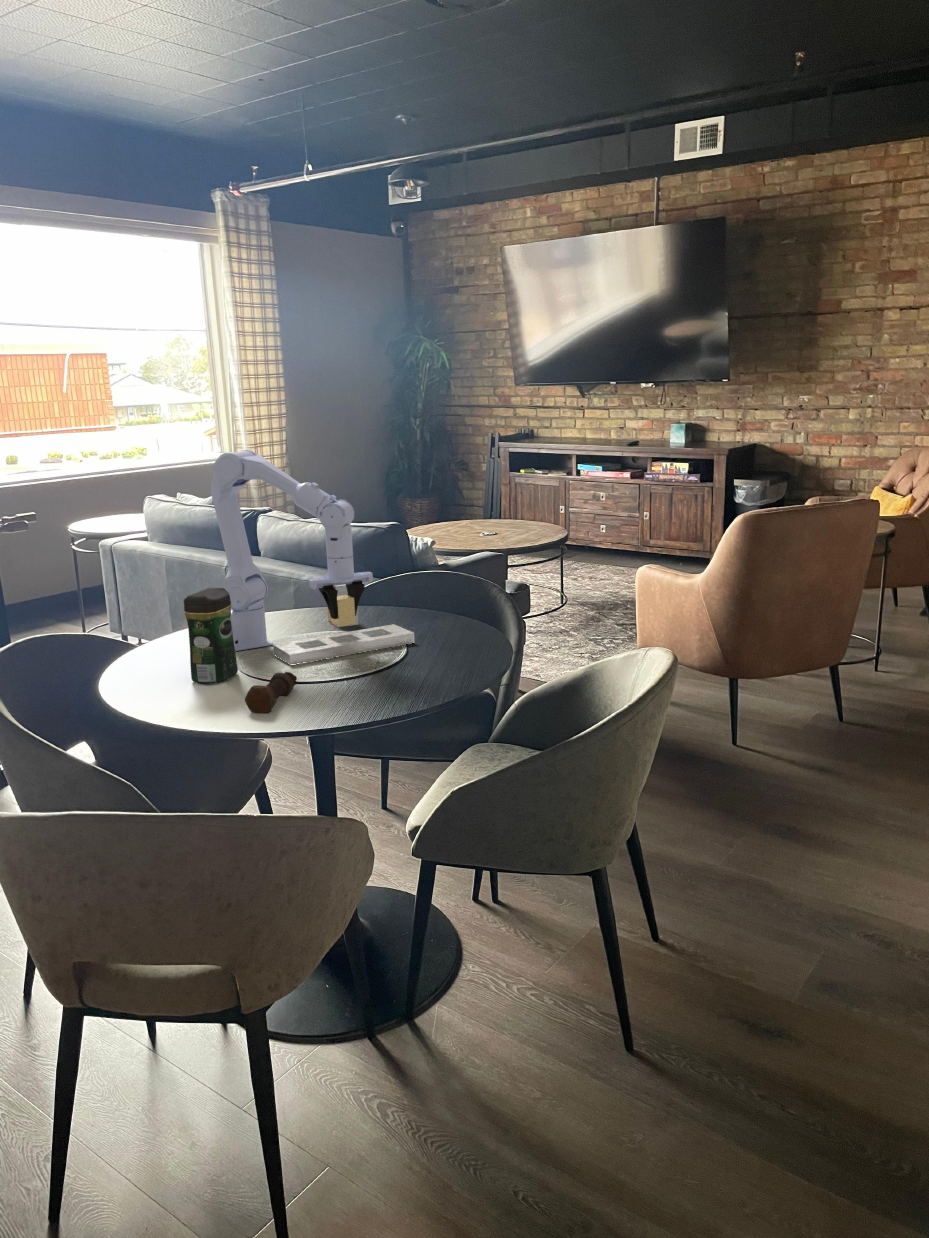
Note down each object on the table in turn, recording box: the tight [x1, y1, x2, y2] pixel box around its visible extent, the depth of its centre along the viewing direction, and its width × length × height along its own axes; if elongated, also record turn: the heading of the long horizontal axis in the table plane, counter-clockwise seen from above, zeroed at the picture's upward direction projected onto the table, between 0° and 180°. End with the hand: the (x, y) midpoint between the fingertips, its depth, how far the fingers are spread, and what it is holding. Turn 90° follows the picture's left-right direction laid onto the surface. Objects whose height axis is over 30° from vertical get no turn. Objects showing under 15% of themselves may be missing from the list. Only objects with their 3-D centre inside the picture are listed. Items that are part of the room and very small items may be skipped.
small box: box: [326, 584, 359, 628], centre depth 229 cm, size 8×6×10 cm
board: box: [272, 623, 415, 664], centre depth 205 cm, size 30×10×2 cm, turn 122°
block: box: [331, 595, 356, 628], centre depth 204 cm, size 4×4×6 cm
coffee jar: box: [183, 587, 239, 686], centre depth 184 cm, size 10×8×19 cm
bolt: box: [244, 671, 298, 715], centre depth 172 cm, size 6×5×15 cm
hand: (343, 616), depth 204 cm, fingers closed on block, 4 cm apart
